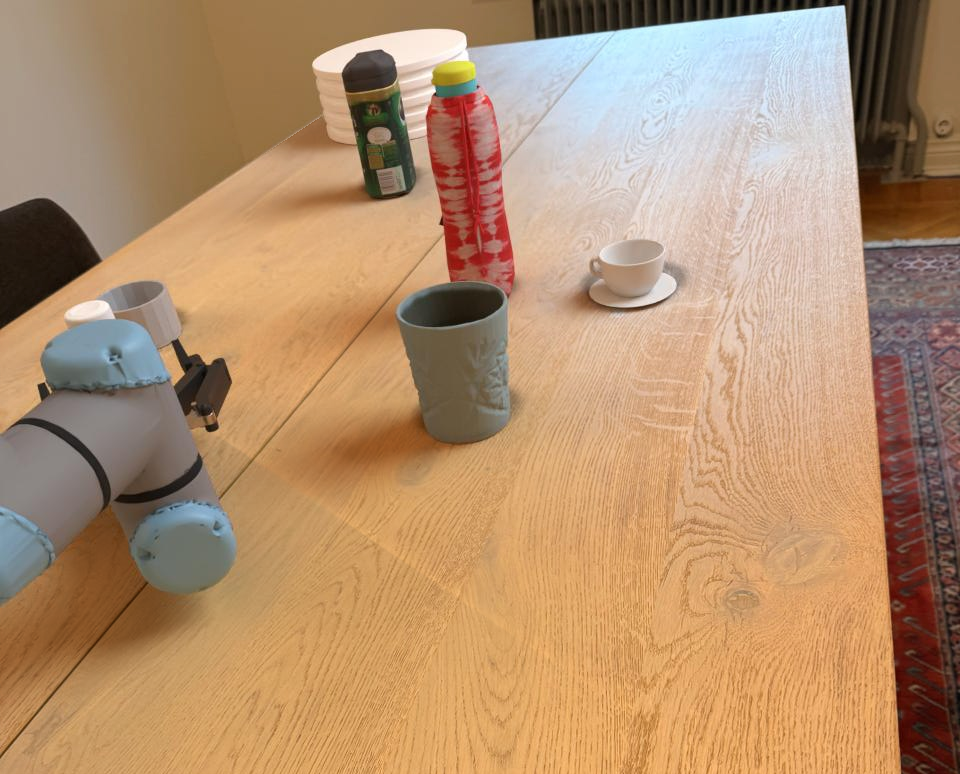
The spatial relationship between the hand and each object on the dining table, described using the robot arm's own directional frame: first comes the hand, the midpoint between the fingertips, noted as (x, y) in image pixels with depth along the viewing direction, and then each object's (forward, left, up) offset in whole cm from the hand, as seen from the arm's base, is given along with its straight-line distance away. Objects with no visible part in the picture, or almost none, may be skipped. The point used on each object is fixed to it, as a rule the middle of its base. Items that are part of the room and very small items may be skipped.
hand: (114, 373), depth 95 cm
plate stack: (-67, +86, -8) cm, 110 cm away
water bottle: (+6, +44, -8) cm, 45 cm away
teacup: (+21, +54, -8) cm, 58 cm away
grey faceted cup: (-23, +12, -7) cm, 27 cm away
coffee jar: (-37, +62, -8) cm, 72 cm away
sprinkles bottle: (-2, +1, -8) cm, 8 cm away
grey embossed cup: (+27, +24, -8) cm, 37 cm away
